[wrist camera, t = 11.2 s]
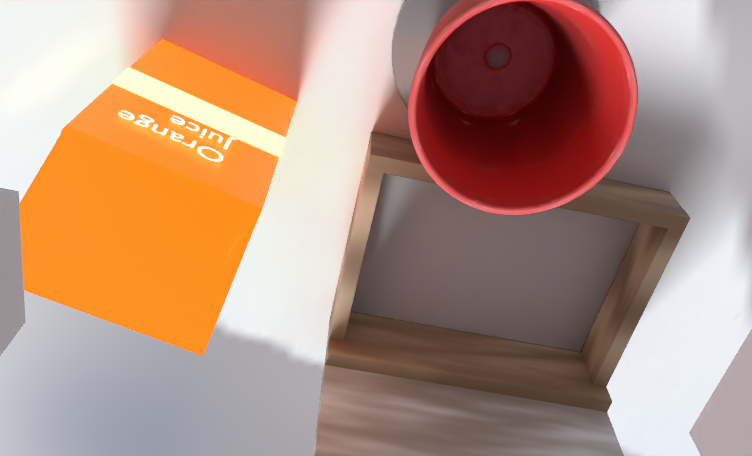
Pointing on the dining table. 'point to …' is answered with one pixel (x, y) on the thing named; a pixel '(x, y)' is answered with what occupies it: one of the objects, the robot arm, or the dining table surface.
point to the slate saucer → (416, 37)
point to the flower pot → (521, 103)
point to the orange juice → (155, 196)
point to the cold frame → (482, 349)
